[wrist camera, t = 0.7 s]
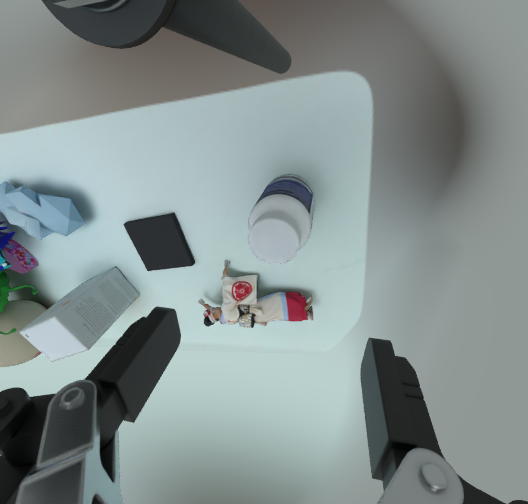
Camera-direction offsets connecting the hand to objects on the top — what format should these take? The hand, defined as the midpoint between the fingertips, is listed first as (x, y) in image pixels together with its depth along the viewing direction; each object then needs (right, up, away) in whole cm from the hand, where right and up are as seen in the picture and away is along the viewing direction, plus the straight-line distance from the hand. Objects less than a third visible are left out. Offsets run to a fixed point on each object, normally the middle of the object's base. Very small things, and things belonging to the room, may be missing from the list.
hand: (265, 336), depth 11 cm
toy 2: (-41, -8, +27) cm, 50 cm away
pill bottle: (+3, +9, +18) cm, 20 cm away
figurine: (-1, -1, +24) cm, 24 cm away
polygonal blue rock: (-28, +9, +24) cm, 38 cm away
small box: (-23, -2, +30) cm, 38 cm away
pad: (-13, +5, +24) cm, 28 cm away
